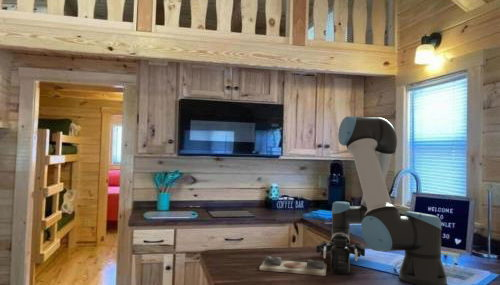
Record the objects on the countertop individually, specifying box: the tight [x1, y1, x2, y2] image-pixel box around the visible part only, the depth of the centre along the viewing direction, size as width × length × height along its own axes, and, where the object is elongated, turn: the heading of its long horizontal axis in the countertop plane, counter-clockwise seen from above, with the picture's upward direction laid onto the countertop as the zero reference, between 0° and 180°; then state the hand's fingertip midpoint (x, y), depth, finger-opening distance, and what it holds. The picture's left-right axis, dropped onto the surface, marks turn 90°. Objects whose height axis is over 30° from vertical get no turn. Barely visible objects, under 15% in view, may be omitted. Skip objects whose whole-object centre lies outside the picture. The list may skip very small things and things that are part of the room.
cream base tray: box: [258, 255, 328, 277], centre depth 148 cm, size 24×12×3 cm, turn 77°
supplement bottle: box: [330, 238, 351, 276], centre depth 144 cm, size 7×7×12 cm
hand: (340, 255), depth 140 cm, fingers open, 10 cm apart
